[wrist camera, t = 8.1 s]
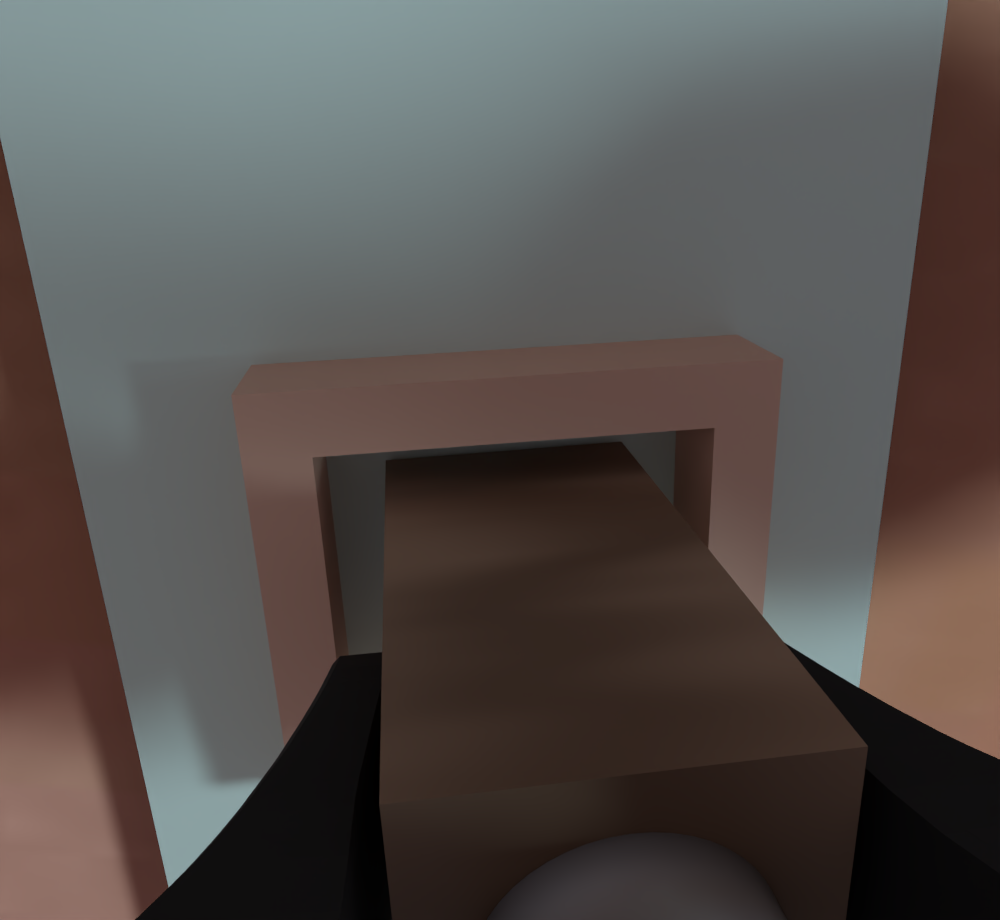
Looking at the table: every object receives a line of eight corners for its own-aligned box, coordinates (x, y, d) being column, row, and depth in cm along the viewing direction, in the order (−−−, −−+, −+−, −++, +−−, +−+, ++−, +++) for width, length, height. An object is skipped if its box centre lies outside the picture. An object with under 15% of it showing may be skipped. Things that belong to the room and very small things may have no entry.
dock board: (912, -62, 14) (1046, -117, 11) (803, 889, 20) (868, 1006, 18) (-6, -48, 12) (-124, -108, 9) (209, 967, 19) (177, 1106, 16)
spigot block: (621, 441, 14) (941, 836, 6) (620, 644, 16) (878, 1197, 7) (385, 460, 14) (376, 911, 6) (404, 666, 15) (421, 1278, 7)
